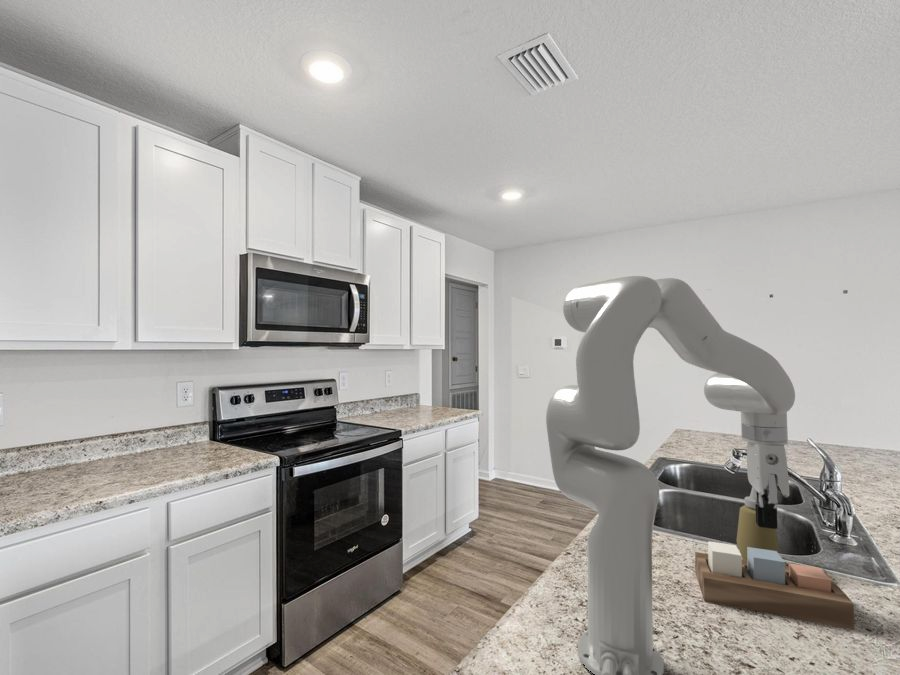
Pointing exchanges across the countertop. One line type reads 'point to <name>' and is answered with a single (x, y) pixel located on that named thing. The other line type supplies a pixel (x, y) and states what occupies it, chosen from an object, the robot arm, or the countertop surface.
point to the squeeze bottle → (753, 530)
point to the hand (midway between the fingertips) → (766, 526)
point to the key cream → (724, 559)
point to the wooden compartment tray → (775, 596)
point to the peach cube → (809, 577)
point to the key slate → (765, 565)
